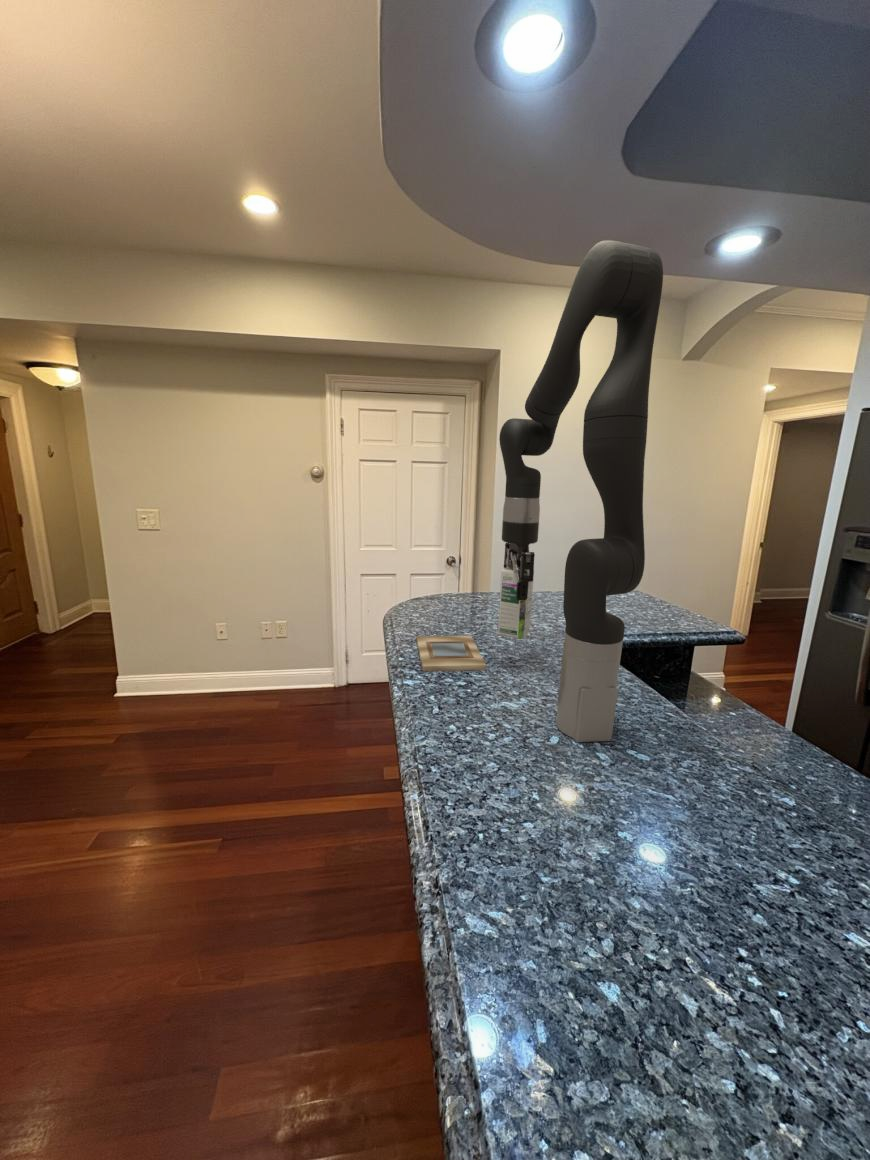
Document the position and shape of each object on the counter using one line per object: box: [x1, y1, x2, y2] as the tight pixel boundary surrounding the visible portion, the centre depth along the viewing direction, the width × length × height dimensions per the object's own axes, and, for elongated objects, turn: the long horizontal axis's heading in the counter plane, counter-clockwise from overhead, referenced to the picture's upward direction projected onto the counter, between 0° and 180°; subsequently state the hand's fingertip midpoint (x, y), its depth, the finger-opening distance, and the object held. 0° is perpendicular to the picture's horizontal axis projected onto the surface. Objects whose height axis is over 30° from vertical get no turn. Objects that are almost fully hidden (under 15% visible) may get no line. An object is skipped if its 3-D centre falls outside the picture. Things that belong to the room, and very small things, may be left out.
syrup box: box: [497, 567, 535, 640], centre depth 104 cm, size 6×6×14 cm
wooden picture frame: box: [415, 635, 487, 672], centre depth 113 cm, size 18×14×1 cm
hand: (516, 594), depth 104 cm, fingers closed on syrup box, 8 cm apart
